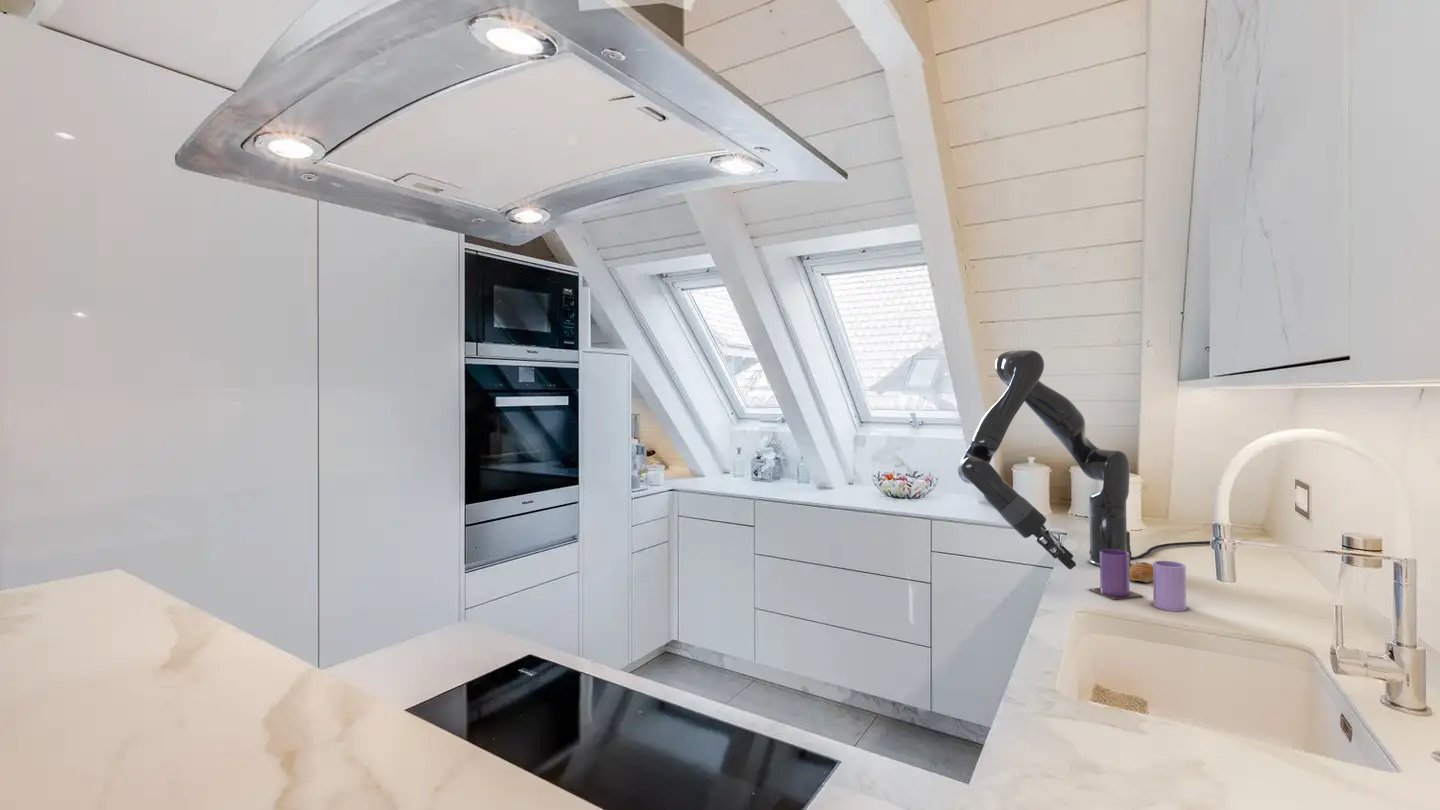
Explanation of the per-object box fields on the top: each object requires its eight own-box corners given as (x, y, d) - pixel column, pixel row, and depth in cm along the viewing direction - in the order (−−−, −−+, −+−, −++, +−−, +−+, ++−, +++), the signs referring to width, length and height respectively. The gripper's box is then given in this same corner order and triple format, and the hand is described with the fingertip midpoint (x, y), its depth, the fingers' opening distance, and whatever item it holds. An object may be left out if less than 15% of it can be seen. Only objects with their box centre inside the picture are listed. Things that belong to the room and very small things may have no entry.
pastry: (1154, 585, 167) (1153, 571, 167) (1123, 581, 171) (1123, 567, 171) (1159, 577, 174) (1159, 563, 174) (1130, 573, 179) (1129, 559, 179)
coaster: (1116, 587, 166) (1116, 586, 166) (1142, 597, 158) (1142, 595, 158) (1089, 590, 165) (1089, 588, 165) (1114, 599, 157) (1114, 598, 157)
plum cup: (1115, 587, 165) (1115, 548, 165) (1135, 594, 159) (1135, 554, 159) (1094, 589, 164) (1094, 550, 164) (1114, 596, 158) (1113, 555, 158)
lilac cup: (1169, 601, 155) (1168, 559, 155) (1192, 609, 149) (1192, 566, 149) (1147, 603, 154) (1146, 561, 153) (1170, 612, 147) (1169, 568, 147)
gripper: (1033, 510, 162) (1086, 560, 158) (1032, 501, 175) (1081, 547, 171) (1010, 530, 164) (1062, 579, 160) (1010, 520, 177) (1058, 565, 173)
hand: (1071, 562), depth 165 cm, fingers open, 8 cm apart
